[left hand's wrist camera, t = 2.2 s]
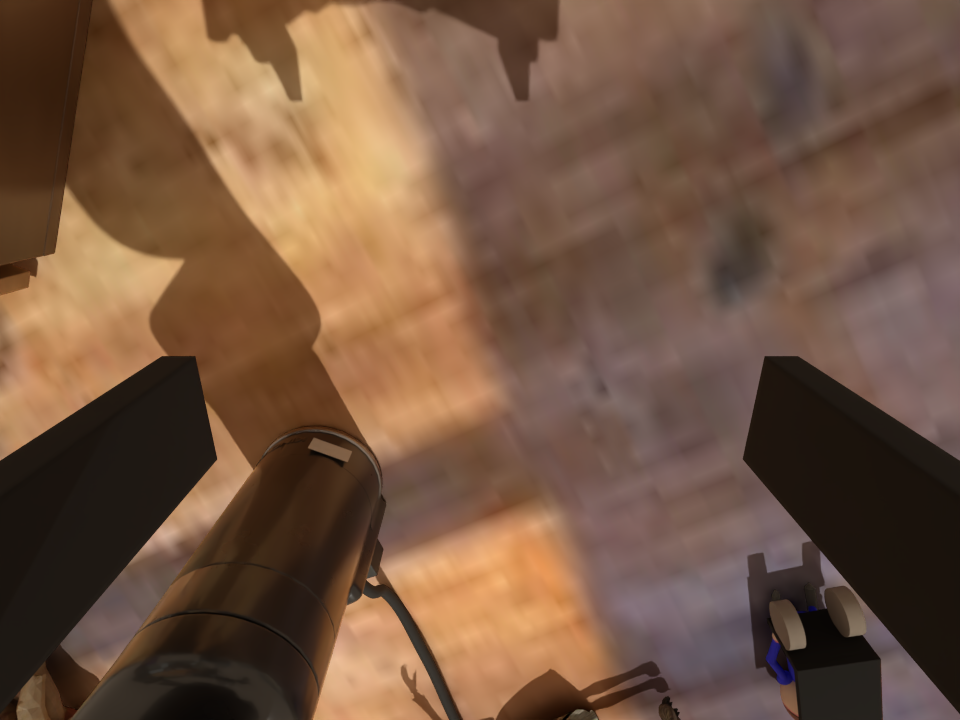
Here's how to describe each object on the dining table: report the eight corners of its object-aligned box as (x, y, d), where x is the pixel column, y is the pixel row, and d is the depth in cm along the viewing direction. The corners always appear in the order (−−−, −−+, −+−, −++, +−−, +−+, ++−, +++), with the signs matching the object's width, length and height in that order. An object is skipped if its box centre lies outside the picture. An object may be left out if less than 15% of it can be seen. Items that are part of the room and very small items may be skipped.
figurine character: (739, 568, 46) (764, 702, 49) (786, 633, 39) (811, 786, 42) (818, 551, 45) (837, 688, 49) (881, 614, 38) (898, 770, 41)
